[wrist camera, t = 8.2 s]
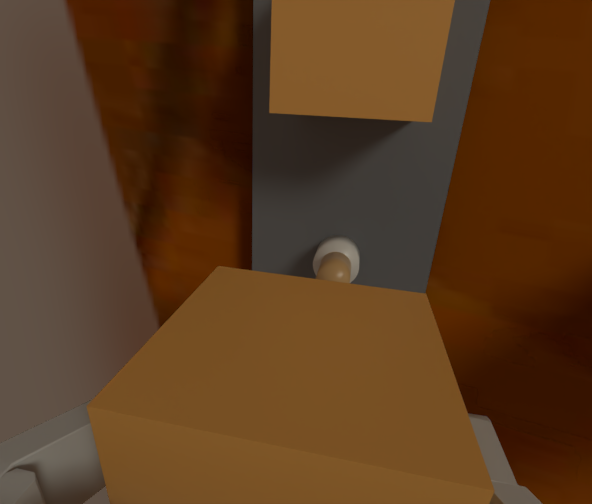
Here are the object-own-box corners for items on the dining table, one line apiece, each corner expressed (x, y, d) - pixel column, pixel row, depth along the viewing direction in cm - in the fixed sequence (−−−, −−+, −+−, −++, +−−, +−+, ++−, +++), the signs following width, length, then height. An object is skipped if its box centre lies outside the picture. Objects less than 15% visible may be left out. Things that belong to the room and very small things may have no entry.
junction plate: (413, 315, 21) (432, 392, 15) (258, 293, 23) (220, 355, 17) (491, -49, 14) (579, -165, 8) (263, -45, 16) (202, -141, 10)
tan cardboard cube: (426, 293, 9) (495, 491, 4) (390, 446, 11) (409, 685, 6) (218, 266, 10) (86, 405, 5) (223, 413, 12) (134, 605, 7)
